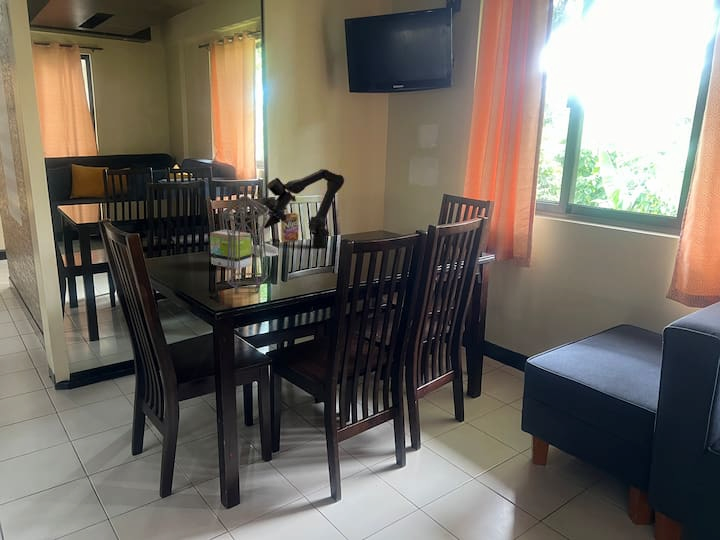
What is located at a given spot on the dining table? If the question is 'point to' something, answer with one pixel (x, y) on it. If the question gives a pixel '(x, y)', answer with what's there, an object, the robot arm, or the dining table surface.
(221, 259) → the tea box
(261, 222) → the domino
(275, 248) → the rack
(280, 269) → the dining table surface
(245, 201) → the geometric lantern
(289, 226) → the candy box
